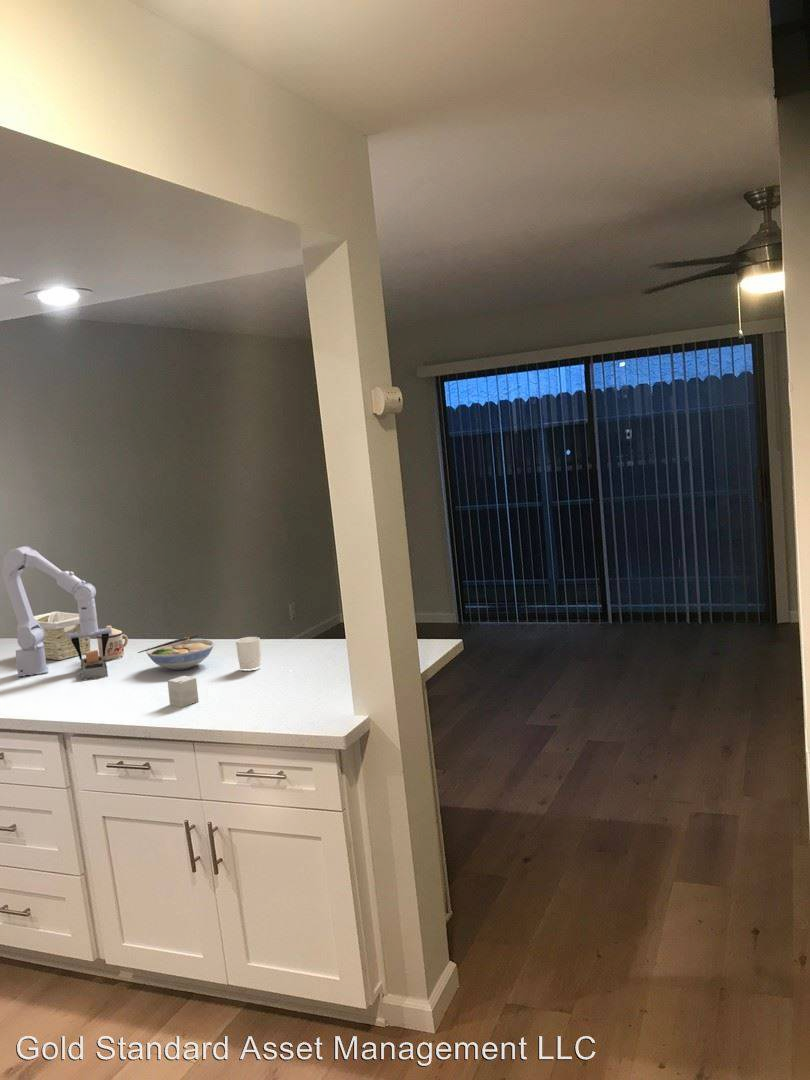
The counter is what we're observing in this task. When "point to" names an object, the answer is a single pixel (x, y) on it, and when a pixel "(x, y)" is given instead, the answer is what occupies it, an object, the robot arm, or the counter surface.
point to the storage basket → (61, 635)
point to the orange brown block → (92, 656)
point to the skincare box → (182, 691)
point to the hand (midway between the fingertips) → (92, 657)
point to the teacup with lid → (113, 644)
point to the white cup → (248, 652)
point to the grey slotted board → (94, 668)
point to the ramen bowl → (180, 652)
